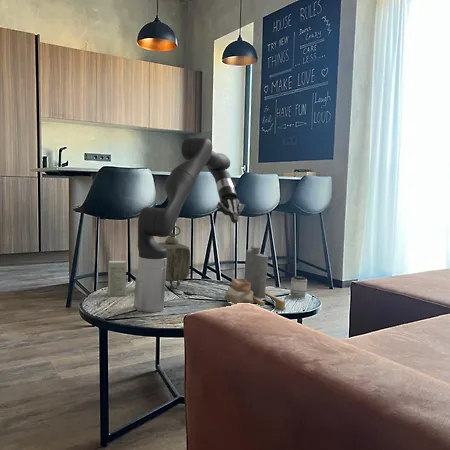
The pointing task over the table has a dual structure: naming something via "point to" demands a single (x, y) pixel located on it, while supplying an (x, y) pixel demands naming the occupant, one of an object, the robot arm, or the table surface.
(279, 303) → the slot rack
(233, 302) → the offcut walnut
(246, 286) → the offcut cherry
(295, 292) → the camera lens
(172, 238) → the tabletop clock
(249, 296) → the offcut ash
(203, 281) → the table surface
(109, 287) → the skincare box
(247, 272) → the hip flask
